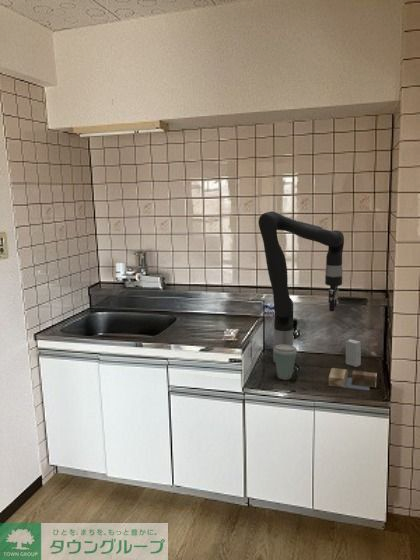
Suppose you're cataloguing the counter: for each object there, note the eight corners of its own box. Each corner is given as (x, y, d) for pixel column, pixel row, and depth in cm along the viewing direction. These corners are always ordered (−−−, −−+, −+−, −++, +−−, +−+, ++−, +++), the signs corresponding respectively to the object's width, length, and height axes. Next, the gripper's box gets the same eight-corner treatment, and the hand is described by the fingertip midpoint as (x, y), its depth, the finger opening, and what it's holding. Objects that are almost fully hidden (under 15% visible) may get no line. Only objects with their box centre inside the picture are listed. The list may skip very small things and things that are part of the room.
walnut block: (352, 373, 201) (376, 376, 198) (352, 370, 205) (376, 373, 201) (351, 384, 202) (376, 387, 199) (352, 381, 206) (376, 383, 202)
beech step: (328, 385, 202) (328, 376, 202) (331, 376, 212) (331, 367, 212) (345, 387, 200) (345, 378, 199) (347, 378, 210) (347, 369, 209)
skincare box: (361, 365, 225) (361, 341, 222) (355, 367, 222) (356, 343, 219) (350, 361, 229) (350, 338, 227) (344, 364, 226) (345, 340, 224)
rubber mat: (345, 387, 200) (345, 387, 200) (347, 378, 210) (347, 377, 210) (369, 390, 196) (369, 390, 196) (370, 380, 206) (370, 380, 206)
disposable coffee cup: (275, 371, 219) (275, 341, 217) (298, 373, 216) (298, 343, 213) (271, 380, 210) (271, 349, 207) (295, 382, 206) (295, 351, 203)
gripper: (327, 271, 219) (326, 304, 222) (323, 277, 206) (322, 312, 209) (343, 272, 216) (342, 305, 219) (340, 277, 203) (339, 313, 206)
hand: (332, 308), depth 214 cm, fingers open, 8 cm apart
